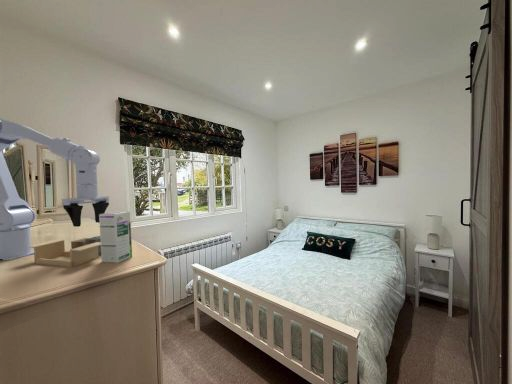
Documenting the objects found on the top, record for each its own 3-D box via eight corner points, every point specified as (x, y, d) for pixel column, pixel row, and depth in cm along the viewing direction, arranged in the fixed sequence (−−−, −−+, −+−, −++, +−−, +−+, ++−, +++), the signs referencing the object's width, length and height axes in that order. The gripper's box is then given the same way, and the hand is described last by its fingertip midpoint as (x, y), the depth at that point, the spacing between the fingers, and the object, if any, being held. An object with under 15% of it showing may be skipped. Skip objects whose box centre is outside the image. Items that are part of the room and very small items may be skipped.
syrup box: (117, 263, 63) (115, 213, 62) (100, 262, 64) (98, 213, 64) (132, 257, 68) (131, 211, 68) (116, 256, 70) (115, 210, 69)
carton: (27, 262, 64) (26, 246, 64) (56, 254, 72) (55, 239, 72) (80, 268, 60) (80, 250, 59) (106, 258, 67) (105, 242, 67)
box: (71, 254, 71) (70, 238, 71) (85, 250, 76) (84, 235, 76) (96, 256, 69) (95, 239, 69) (108, 252, 74) (108, 236, 73)
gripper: (73, 184, 66) (75, 229, 67) (115, 184, 80) (116, 221, 81) (56, 184, 68) (58, 228, 69) (99, 184, 82) (101, 220, 83)
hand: (88, 224), depth 75 cm, fingers open, 7 cm apart
